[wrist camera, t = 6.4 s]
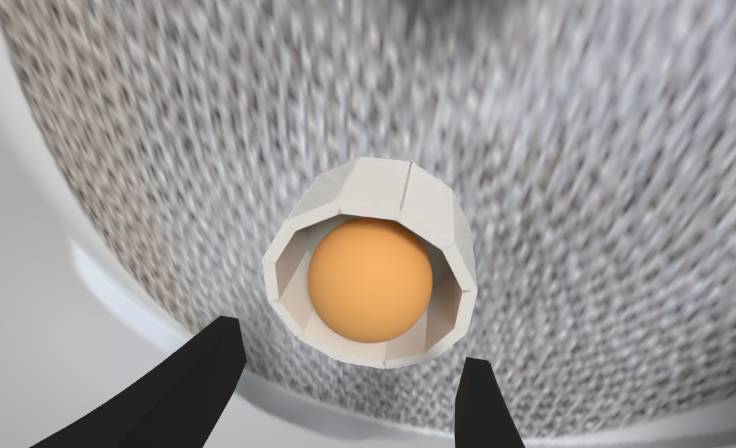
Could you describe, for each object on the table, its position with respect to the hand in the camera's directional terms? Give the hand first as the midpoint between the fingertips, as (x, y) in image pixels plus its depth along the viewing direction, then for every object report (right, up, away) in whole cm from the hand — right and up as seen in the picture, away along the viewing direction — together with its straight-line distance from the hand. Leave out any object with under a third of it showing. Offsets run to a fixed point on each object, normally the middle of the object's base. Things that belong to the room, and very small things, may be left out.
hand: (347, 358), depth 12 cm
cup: (+1, +3, +6) cm, 7 cm away
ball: (+1, +2, +3) cm, 4 cm away
